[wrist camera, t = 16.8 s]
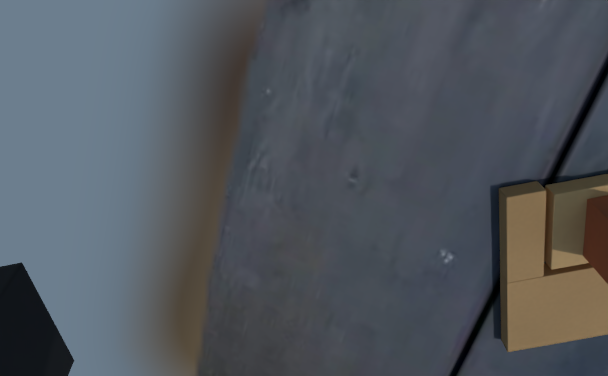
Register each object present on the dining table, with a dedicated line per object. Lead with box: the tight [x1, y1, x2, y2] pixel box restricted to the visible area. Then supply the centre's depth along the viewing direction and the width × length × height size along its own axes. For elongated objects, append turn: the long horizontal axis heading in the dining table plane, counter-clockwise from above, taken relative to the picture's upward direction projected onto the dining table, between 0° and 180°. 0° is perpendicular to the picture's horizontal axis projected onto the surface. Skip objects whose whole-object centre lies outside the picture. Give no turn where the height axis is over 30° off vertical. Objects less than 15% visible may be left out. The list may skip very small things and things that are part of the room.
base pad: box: [499, 181, 608, 352], centre depth 51 cm, size 16×18×2 cm
